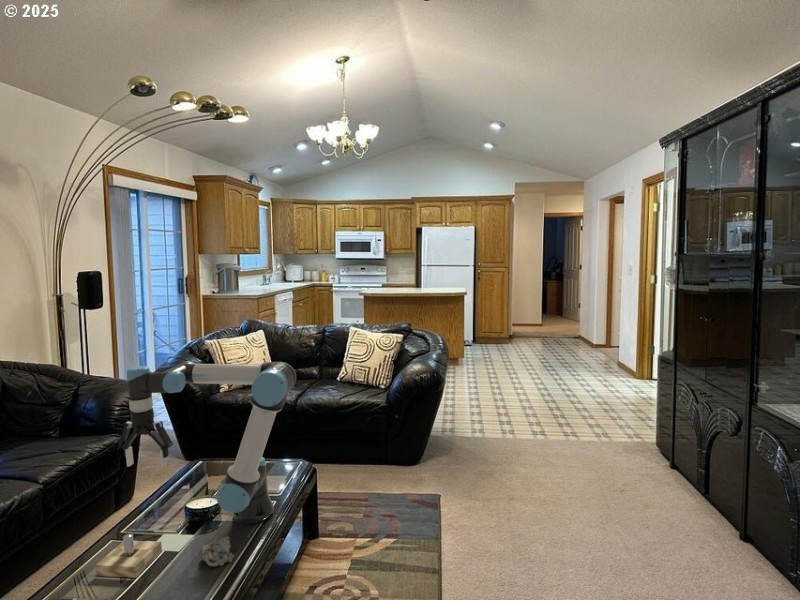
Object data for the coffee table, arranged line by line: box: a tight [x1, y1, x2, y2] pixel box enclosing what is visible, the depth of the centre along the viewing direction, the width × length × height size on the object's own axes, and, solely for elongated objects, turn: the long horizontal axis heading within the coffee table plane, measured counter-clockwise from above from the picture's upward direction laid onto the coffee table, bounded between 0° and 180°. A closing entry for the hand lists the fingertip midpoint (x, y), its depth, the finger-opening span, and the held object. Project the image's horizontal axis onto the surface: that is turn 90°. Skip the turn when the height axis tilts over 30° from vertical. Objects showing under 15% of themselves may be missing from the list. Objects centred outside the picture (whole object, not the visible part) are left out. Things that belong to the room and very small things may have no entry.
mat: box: [156, 533, 195, 552], centre depth 182 cm, size 12×10×1 cm
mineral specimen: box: [201, 535, 235, 567], centre depth 170 cm, size 10×8×10 cm
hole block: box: [95, 540, 163, 578], centre depth 170 cm, size 14×14×4 cm
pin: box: [122, 533, 135, 557], centre depth 170 cm, size 3×3×10 cm
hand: (147, 465), depth 186 cm, fingers open, 13 cm apart
